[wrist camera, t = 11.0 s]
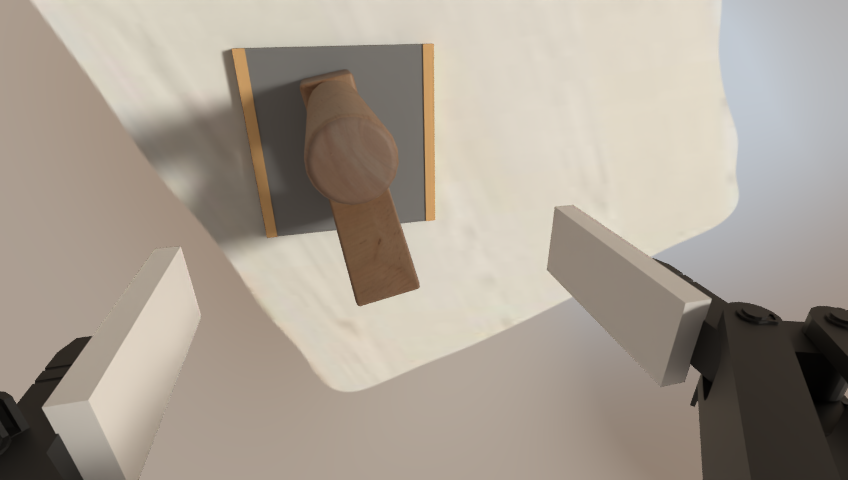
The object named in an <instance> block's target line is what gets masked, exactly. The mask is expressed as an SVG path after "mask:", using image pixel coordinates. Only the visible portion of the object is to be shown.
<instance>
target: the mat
mask: <svg viewBox="0 0 848 480" xmlns="http://www.w3.org/2000/svg"><path fill="white" fill-rule="evenodd" d="M232 53H233V59H234V64H235V69H236V75H237V80H238V85H239V91H240V96H241V101H242V107H243V112H244V118H245V123H246V128H247V134H248V139H249V144H250V150H251V155H252V160H253V166H254V171H255V176H256V182H257V187H258V192H259V198H260V203H261V208H262V214H263V219H264V224H265V230H266V235H267V238H270V237H277V236H285V235H294V234H304V233H313V232H323V231H332V230H337V229H336V225H335V222H334V218H333V214H332V210H331V207H330V203H329V199H328V198H327V197H325V196H323V195H322V194H321V193H320V192H319V191H318V190H317V189H316V188H315V187H314V186H313V185H312V183H311V181H310V179H309V177H308V175H307V173H306V168H305V162H304V149H305V135H306V120H307V110H306V107H305V104H304V101H303V98H302V95H301V92H300V83H301V81H302V80H303V79H306V78H310V77H314V76H318V75H322V74H326V73H330V72H335V71H339V70H343V69H347V70H349V71H350V72H351V73H352V75H353V76H354V80H355V84H356V88H357V91H358V94H359V95H360V97H361V98H362V99H363V100H364V101H365V103H366V104H367V105H368V106H369V108H370V109H371V110H372V111H373V112H374V114H375V115H376V116H377V117H378V119H379V120H380V121H381V122H382V123H383V125H384V126H385V127H386V128H387V130H388V131H389V132H390V133H391V134H392V136H393V139H394V141H395V143H396V146H397V148H398V160H399V164H398V168H397V172H396V176H395V178H394V180H393V181H392V183H391V185H390V186H389V190H390V193H391V196H392V199H393V202H394V205H395V208H396V212H397V215H398V218H399V221H400V223H408V222H417V221H431V220H435V151H434V44H402V45H359V46H317V47H275V48H233V49H232Z"/></svg>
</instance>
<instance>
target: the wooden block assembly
mask: <svg viewBox="0 0 848 480" xmlns="http://www.w3.org/2000/svg"><path fill="white" fill-rule="evenodd" d="M300 92H301V95H302V98H303V101H304V104H305V107H306V110H307V120H306V135H305V149H304V162H305V168H306V173H307V175H308V177H309V179H310V181H311V183H312V185H313V186H314V187H315V188H316V189H317V190H318V191H319V192H320V193H321V194H322V195H323V196H325V197H327V198H328V199H329V203H330V207H331V210H332V214H333V218H334V222H335V225H336V229H337V233H338V236H339V240H340V244H341V248H342V251H343V255H344V259H345V263H346V266H347V270H348V274H349V278H350V281H351V285H352V289H353V292H354V296H355V300H356V303H357V305H358V306H362V305H366V304H369V303H372V302H376V301H379V300H382V299H386V298H389V297H392V296H395V295H399V294H402V293H405V292H409V291H412V290H415V289H418V288H419V287H420V286H419V281H418V277H417V274H416V271H415V268H414V265H413V262H412V259H411V255H410V252H409V249H408V246H407V243H406V240H405V237H404V233H403V230H402V227H401V224H400V221H399V218H398V215H397V212H396V208H395V205H394V202H393V199H392V196H391V193H390V190H389V186H390V185H391V183H392V181H393V180H394V178H395V176H396V172H397V168H398V164H399V160H398V148H397V146H396V143H395V141H394V139H393V136H392V134H391V133H390V132H389V131H388V130H387V128H386V127H385V126H384V125H383V123H382V122H381V121H380V120H379V119H378V117H377V116H376V115H375V114H374V112H373V111H372V110H371V109H370V108H369V106H368V105H367V104H366V103H365V101H364V100H363V99H362V98H361V97H360V95H359V94H358V91H357V88H356V84H355V80H354V76H353V75H352V73H351V72H350V71H349V70H347V69H343V70H339V71H335V72H330V73H326V74H322V75H318V76H314V77H310V78H306V79H303V80H302V81H301V83H300Z"/></svg>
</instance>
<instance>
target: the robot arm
mask: <svg viewBox="0 0 848 480" xmlns="http://www.w3.org/2000/svg"><path fill="white" fill-rule="evenodd" d="M547 270H548V271H549V272H550V273H551V275H552V276H553V277H554V278H555V279H556V280H557V281H558V282H559V283H560V284H561V285H562V286H563V287H564V288H565V289H566V290H567V291H568V292H569V293H570V294H571V295H572V296H573V297H574V298H575V299H576V300H577V301H578V302H579V303H580V304H581V305H582V306H583V307H584V308H585V310H586V311H587V312H588V313H589V314H590V315H591V316H592V317H593V318H594V319H595V320H596V321H597V322H598V323H599V324H600V325H601V326H602V327H603V328H604V329H605V330H606V331H607V332H608V333H609V334H610V335H611V336H612V337H613V338H614V339H615V340H616V341H617V342H618V343H619V344H620V346H621V347H623V348H624V349H625V350H626V352H628V354H629V355H630V356H631V357H632V358H634V360H635V361H636V362H637V363H638V364H639V365H640V366H641V367H642V368H643V369H644V370H645V371H646V372H647V373H648V374H649V375H650V376H651V377H652V378H653V379H654V380H655V382H656V383H658V385H659V386H660V387H663V386H668V385H672V384H677V383H682V382H685V379H686V376H687V373H688V370H689V367H690V364H691V365H692V366H693V367H694V368H695V369H697V370H698V371H699V372H700V373H701V375H700V378H699V381H698V384H697V387H696V389H695V392H694V395H693V398H692V401H691V404H690V405H691V406H695V405H696V402H697V401H698V404H699V422H700V438H701V455H702V470H703V471H702V472H703V480H848V399H847V398H846V396H844V394H845V392H846V390H847V388H848V310H845V309H842V308H834V307H828V306H817V307H813V308H811V310H810V312H809V314H808V316H807V318H806V321H805V322H794V321H782V319H781V318H780V317H779V316H777V315H776V314H775V313H773V312H772V311H769V310H767V309H765V308H763V307H761V306H757V305H754V304H750V303H743V302H732V303H727V302H725V301H724V300H722V299H721V298H719V297H718V296H716V295H715V294H713V293H712V292H710V291H709V290H707V289H706V288H704V287H703V286H701V285H700V284H698V283H697V282H693V280H692V279H691V278H689V277H688V276H686V275H683V274H682V272H680V271H679V270H677V269H675V268H674V267H672V266H671V265H669V264H667V263H664V262H662V261H659V260H657V259H654V258H651V257H649V256H648V255H646V254H645V253H643V252H642V251H640V250H639V249H637V248H636V247H635V246H633V245H632V244H630V243H629V242H627V241H626V240H624V239H623V238H621V237H620V236H618V235H617V234H615V233H614V232H612V231H611V230H609V229H608V228H607V227H605V226H604V225H602V224H601V223H599V222H598V221H596V220H595V219H593V218H592V217H590V216H589V215H587V214H586V213H584V212H583V211H581V210H580V209H578V208H577V207H576V206H574V205H567V206H558V207H555V210H554V218H553V226H552V233H551V241H550V249H549V257H548V265H547ZM200 318H201V314H200V310H199V307H198V304H197V300H196V297H195V294H194V290H193V287H192V283H191V279H190V276H189V273H188V269H187V266H186V262H185V259H184V255H183V252H182V248H181V246H176V247H167V248H157V249H154V251H153V252H152V253H151V255H150V256H149V258H148V259H147V260H146V262H145V263H144V265H143V266H142V267H141V269H140V270H139V272H138V273H137V274H136V276H135V277H134V279H133V280H132V281H131V283H130V284H129V286H128V287H127V289H126V290H125V292H124V293H123V294H122V296H121V297H120V298H119V300H118V301H117V303H116V304H115V306H114V307H113V308H112V310H111V311H110V312H109V314H108V315H107V317H106V318H105V320H104V321H103V322H102V324H101V325H100V326H99V328H98V329H97V331H96V332H95V334H94V335H93V336H89V337H82V338H76V339H75V340H74V341H72V342H71V343H70V344H69V345H67V346H65V347H64V348H63V349H61V350H60V351H59V352H57V354H56V355H55V356H54V358H53V359H52V360H51V361H50V362H49V364H48V365H47V366H46V368H45V371H42V373H41V374H40V375H39V376H38V378H37V379H36V380H35V384H32V385H31V387H30V388H29V389H28V391H27V392H26V393H25V394H24V396H23V397H22V398H21V399H20V401H19V402H18V403H17V404H16V402H15V401H14V399H13V397H12V396H11V395H9V394H8V393H6V392H0V480H139V478H140V475H141V472H142V470H143V467H144V465H145V462H146V459H147V457H148V454H149V451H150V449H151V446H152V444H153V441H154V438H155V436H156V433H157V431H158V428H159V425H160V423H161V420H162V418H163V415H164V412H165V410H166V407H167V404H168V402H169V399H170V396H171V394H172V392H173V389H174V386H175V384H176V381H177V378H178V376H179V373H180V371H181V368H182V364H183V363H184V360H185V358H186V355H187V352H188V350H189V347H190V344H191V342H192V339H193V337H194V334H195V331H196V329H197V326H198V324H199V321H200Z"/></svg>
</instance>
